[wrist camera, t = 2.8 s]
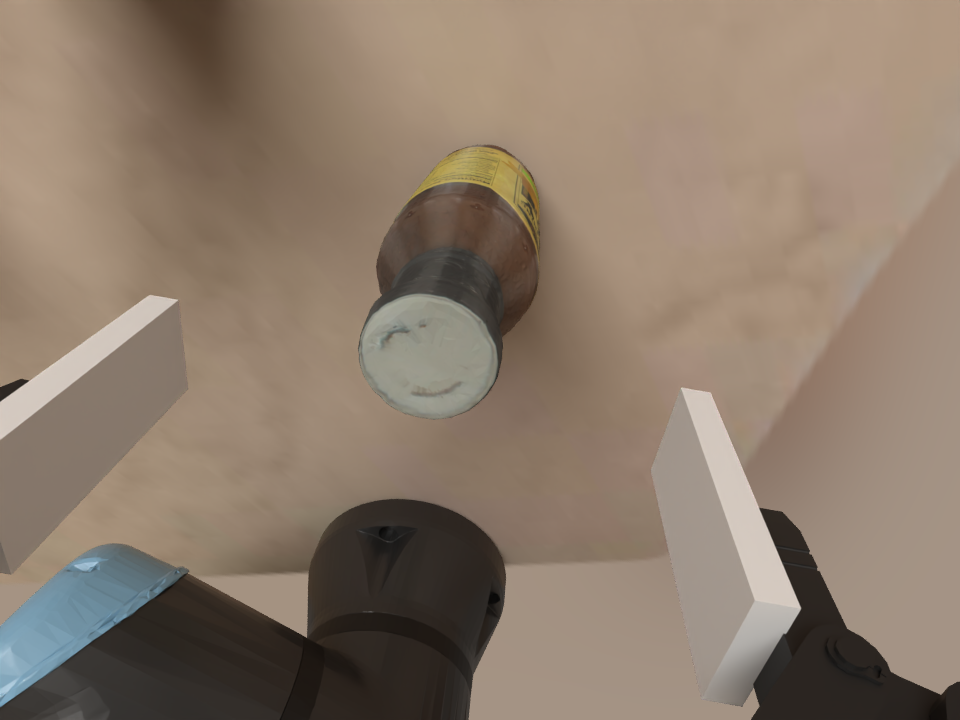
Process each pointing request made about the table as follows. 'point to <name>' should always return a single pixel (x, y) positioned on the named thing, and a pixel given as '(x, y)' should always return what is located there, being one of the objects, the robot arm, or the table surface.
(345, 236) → the table surface
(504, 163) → the sauce bottle
